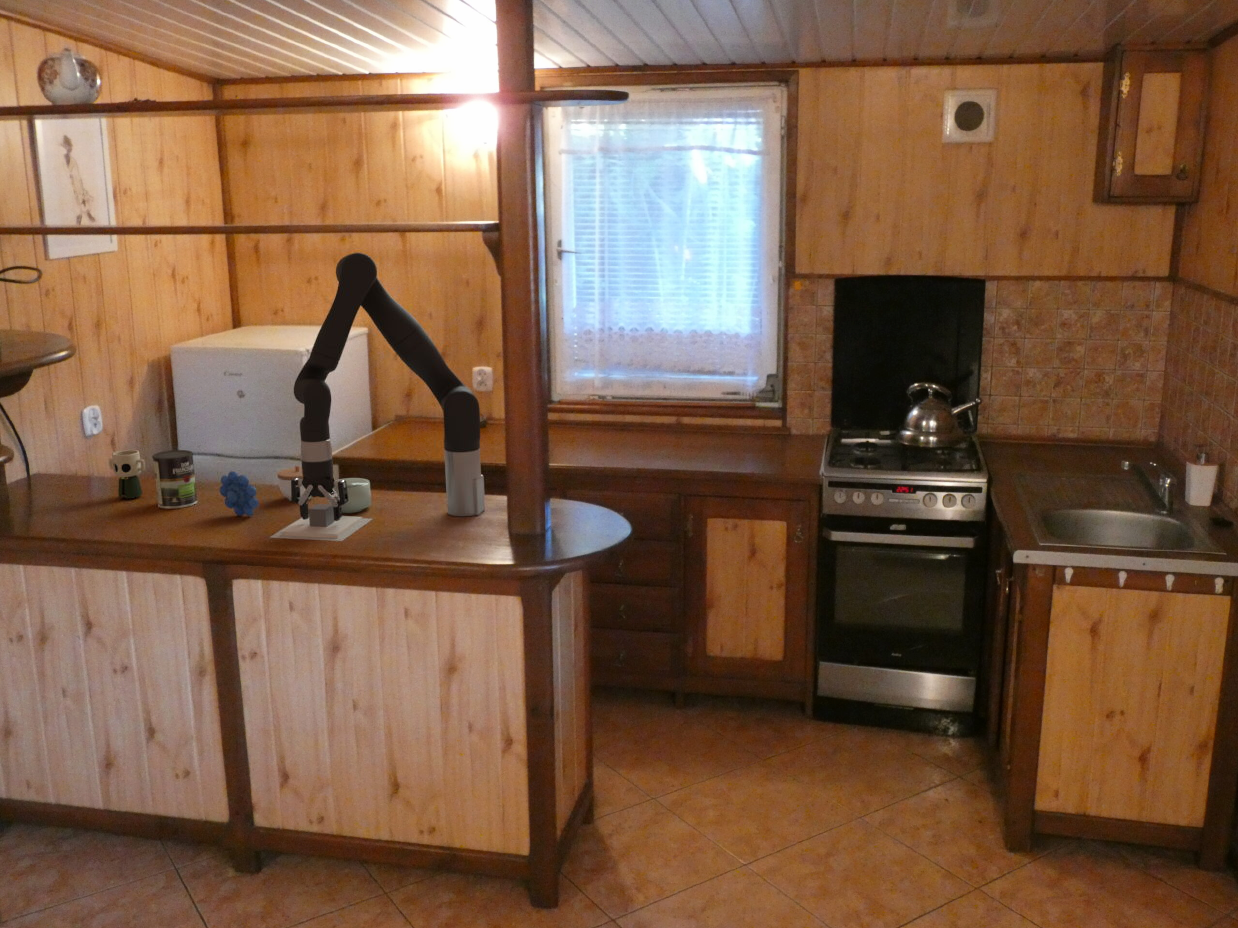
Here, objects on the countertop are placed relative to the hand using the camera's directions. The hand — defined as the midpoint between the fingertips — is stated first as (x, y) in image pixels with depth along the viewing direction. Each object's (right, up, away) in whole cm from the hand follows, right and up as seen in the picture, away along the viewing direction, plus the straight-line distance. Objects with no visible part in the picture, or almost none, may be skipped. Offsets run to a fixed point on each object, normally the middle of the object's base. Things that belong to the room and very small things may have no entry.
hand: (321, 519), depth 282 cm
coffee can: (-46, +3, +25) cm, 52 cm away
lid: (0, -2, 0) cm, 2 cm away
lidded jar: (-14, +4, +29) cm, 32 cm away
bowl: (+3, +2, +17) cm, 17 cm away
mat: (0, -2, +1) cm, 3 cm away
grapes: (-25, 0, +12) cm, 28 cm away
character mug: (-62, +4, +32) cm, 70 cm away
